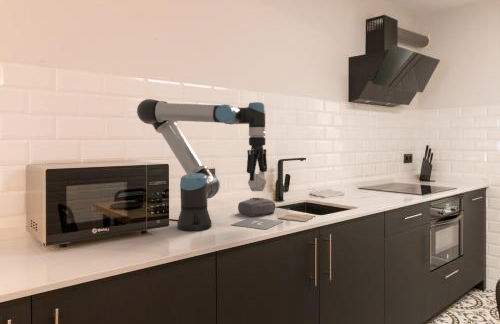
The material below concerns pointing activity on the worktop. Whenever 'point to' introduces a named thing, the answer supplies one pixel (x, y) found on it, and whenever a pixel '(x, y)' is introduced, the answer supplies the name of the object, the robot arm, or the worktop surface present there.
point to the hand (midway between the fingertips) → (257, 186)
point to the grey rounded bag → (256, 207)
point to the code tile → (257, 223)
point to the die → (259, 183)
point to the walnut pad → (296, 217)
